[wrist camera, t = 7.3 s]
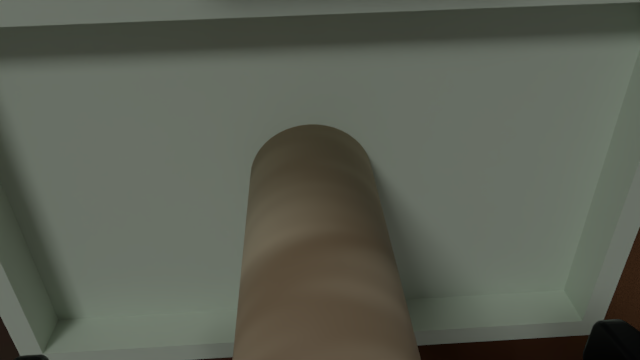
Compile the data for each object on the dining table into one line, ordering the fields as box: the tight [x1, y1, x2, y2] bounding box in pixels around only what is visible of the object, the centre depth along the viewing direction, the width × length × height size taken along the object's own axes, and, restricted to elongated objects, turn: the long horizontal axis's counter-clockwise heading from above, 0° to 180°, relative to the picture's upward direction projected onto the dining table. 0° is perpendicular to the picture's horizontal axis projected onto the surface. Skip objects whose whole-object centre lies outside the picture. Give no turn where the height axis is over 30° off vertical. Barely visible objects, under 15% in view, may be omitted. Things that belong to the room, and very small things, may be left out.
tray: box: [0, 0, 640, 360], centre depth 13 cm, size 16×10×2 cm, turn 91°
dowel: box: [233, 124, 421, 360], centre depth 10 cm, size 3×3×8 cm
